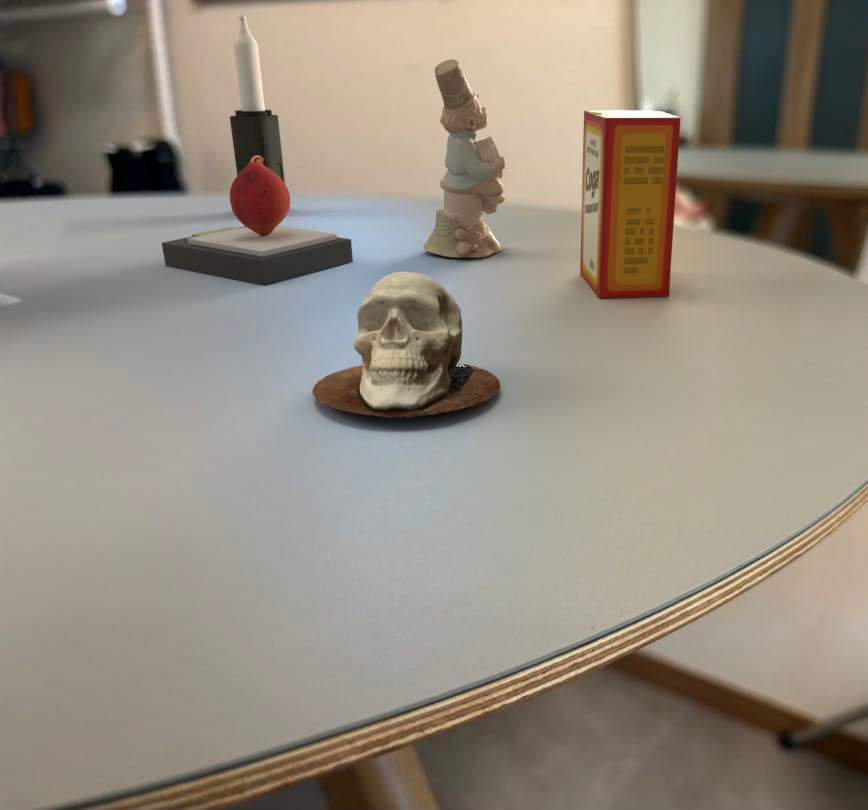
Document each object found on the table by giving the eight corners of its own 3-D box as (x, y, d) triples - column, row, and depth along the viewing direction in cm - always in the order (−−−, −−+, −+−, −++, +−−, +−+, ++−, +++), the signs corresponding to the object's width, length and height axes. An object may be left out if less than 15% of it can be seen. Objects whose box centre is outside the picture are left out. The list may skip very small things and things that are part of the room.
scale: (165, 265, 88) (160, 236, 87) (256, 245, 98) (253, 219, 97) (264, 285, 81) (261, 254, 80) (353, 261, 90) (350, 233, 89)
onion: (270, 243, 84) (260, 160, 81) (222, 239, 86) (211, 157, 83) (304, 233, 89) (296, 154, 86) (259, 229, 91) (249, 151, 88)
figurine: (439, 264, 89) (431, 59, 82) (416, 248, 97) (407, 58, 89) (517, 257, 93) (516, 59, 85) (489, 242, 100) (486, 58, 92)
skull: (496, 419, 49) (370, 286, 47) (378, 512, 53) (256, 394, 50) (529, 346, 60) (427, 235, 57) (428, 428, 64) (329, 328, 61)
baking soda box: (580, 273, 86) (584, 106, 80) (642, 272, 87) (651, 106, 81) (599, 298, 77) (605, 113, 71) (668, 296, 78) (680, 112, 72)
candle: (257, 209, 120) (234, 14, 110) (291, 210, 119) (270, 14, 109) (238, 215, 115) (212, 12, 106) (273, 217, 114) (250, 12, 105)
